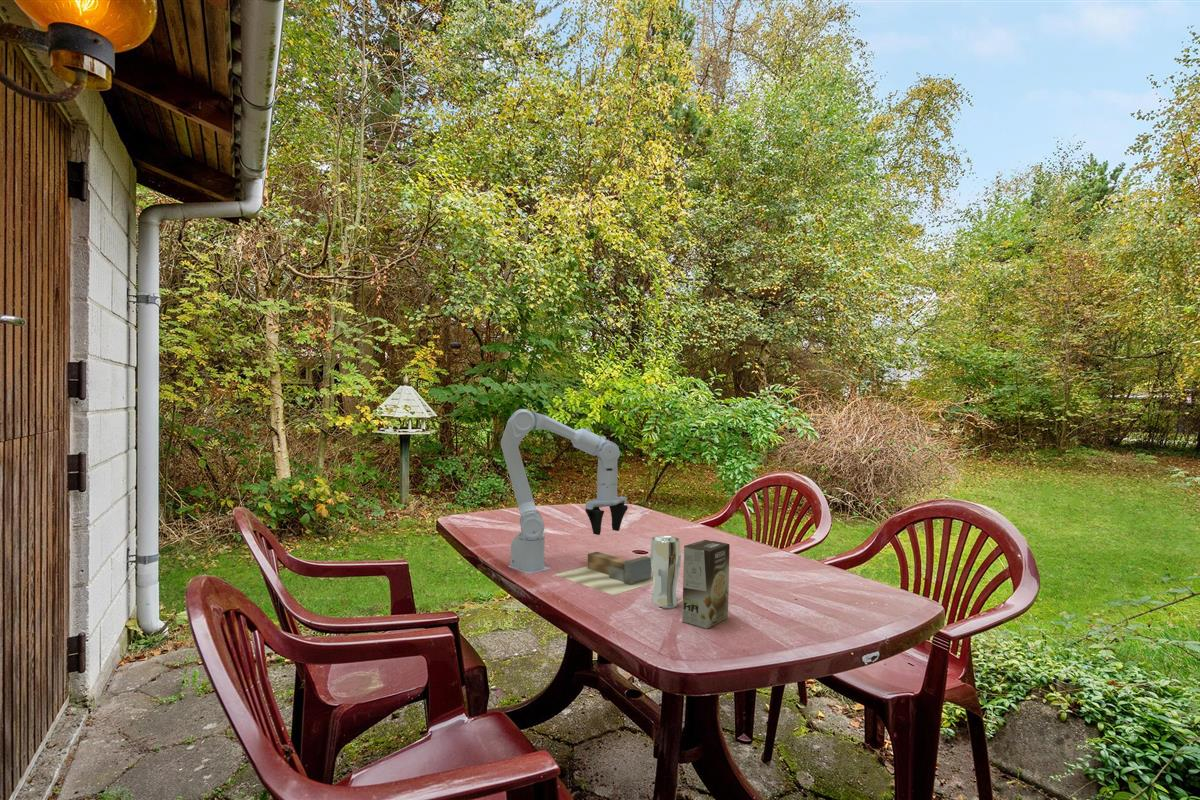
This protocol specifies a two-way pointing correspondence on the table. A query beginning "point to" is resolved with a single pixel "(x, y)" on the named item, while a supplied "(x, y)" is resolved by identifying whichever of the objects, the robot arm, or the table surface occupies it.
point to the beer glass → (665, 570)
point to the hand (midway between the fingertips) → (606, 532)
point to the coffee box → (705, 583)
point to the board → (600, 580)
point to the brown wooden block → (604, 562)
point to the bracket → (632, 571)
